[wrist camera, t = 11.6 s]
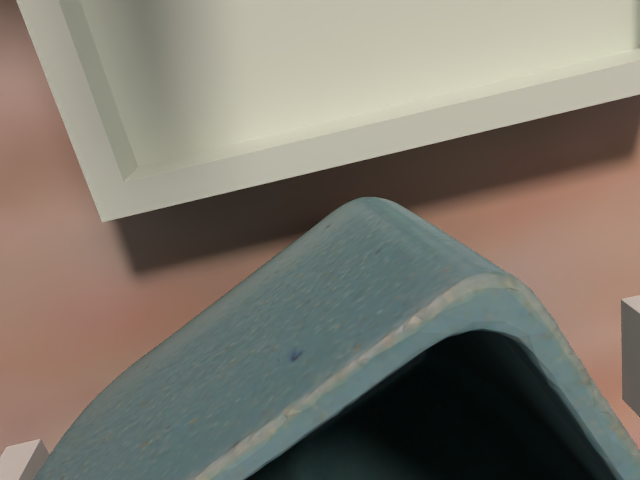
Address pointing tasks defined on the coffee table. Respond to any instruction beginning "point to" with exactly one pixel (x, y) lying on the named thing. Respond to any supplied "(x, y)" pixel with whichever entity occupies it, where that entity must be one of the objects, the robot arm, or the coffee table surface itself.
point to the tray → (308, 82)
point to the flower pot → (357, 374)
